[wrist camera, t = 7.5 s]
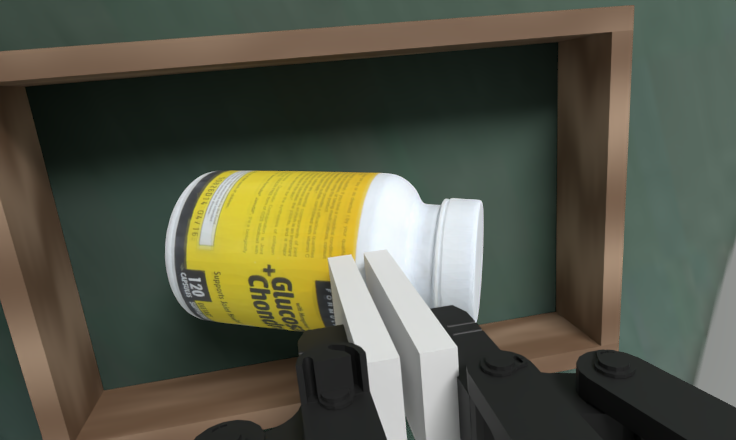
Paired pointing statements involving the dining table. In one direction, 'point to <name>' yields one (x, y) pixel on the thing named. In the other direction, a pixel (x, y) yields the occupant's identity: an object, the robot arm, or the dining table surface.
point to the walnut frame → (279, 378)
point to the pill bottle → (313, 244)
